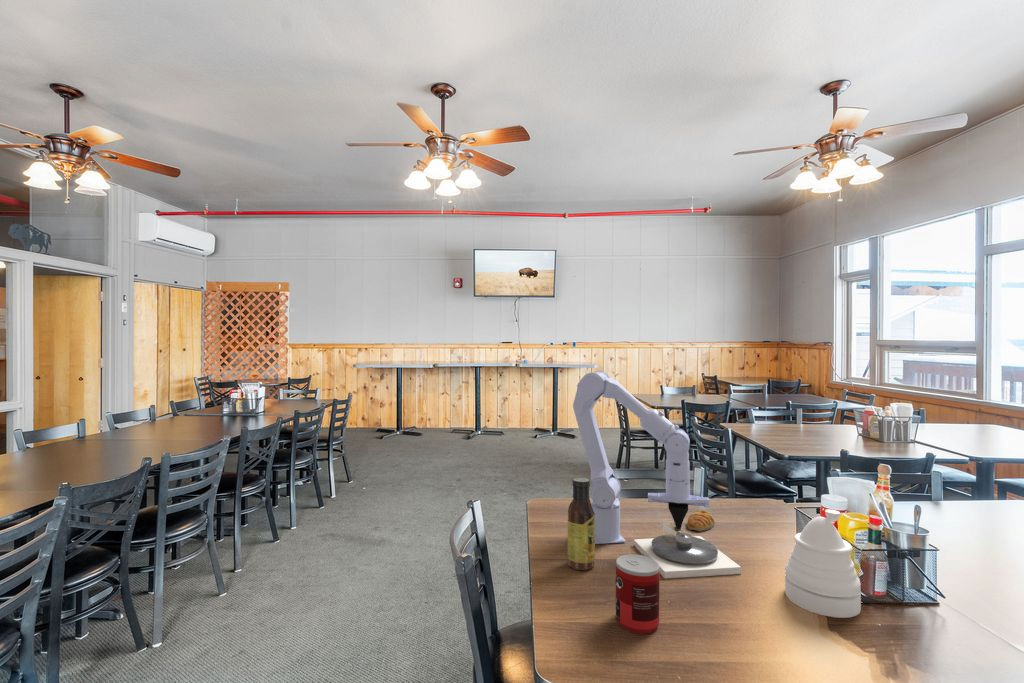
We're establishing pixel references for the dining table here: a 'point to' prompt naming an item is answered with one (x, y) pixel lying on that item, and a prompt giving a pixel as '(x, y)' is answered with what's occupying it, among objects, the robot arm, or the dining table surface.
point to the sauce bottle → (581, 527)
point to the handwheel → (683, 547)
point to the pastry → (700, 521)
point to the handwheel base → (679, 570)
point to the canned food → (637, 593)
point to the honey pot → (823, 571)
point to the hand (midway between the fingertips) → (678, 532)
